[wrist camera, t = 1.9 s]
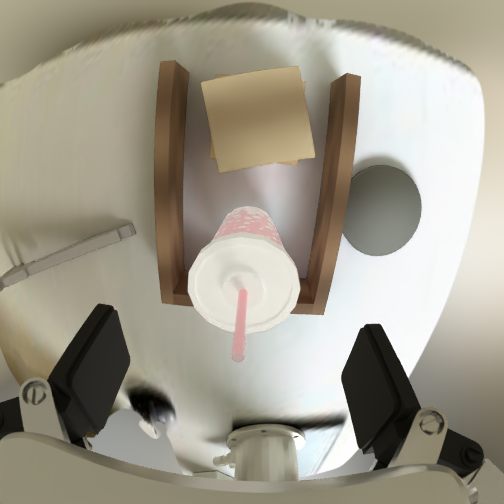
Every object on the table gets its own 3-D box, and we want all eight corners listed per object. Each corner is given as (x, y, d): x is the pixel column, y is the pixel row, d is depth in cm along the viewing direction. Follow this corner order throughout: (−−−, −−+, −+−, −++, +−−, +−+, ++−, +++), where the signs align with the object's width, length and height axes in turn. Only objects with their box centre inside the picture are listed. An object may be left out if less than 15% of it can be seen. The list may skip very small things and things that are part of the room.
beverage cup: (245, 181, 21) (228, 256, 8) (300, 231, 23) (347, 351, 10) (196, 234, 23) (135, 352, 10) (250, 278, 25) (244, 415, 12)
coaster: (363, 269, 24) (365, 272, 24) (321, 197, 22) (322, 199, 21) (428, 223, 22) (431, 225, 22) (396, 148, 20) (399, 149, 19)
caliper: (18, 272, 26) (-11, 297, 20) (15, 265, 25) (-15, 289, 20) (137, 232, 23) (105, 262, 18) (133, 221, 23) (99, 249, 17)
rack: (315, 289, 25) (323, 314, 21) (174, 278, 25) (161, 303, 21) (343, 85, 18) (360, 76, 14) (176, 73, 18) (160, 61, 14)
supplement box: (191, 472, 46) (185, 517, 34) (217, 470, 44) (213, 518, 33) (211, 481, 49) (207, 523, 37) (237, 479, 47) (234, 523, 35)
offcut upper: (306, 154, 18) (315, 157, 15) (224, 167, 18) (219, 173, 15) (291, 76, 16) (298, 66, 13) (209, 90, 16) (200, 82, 13)
